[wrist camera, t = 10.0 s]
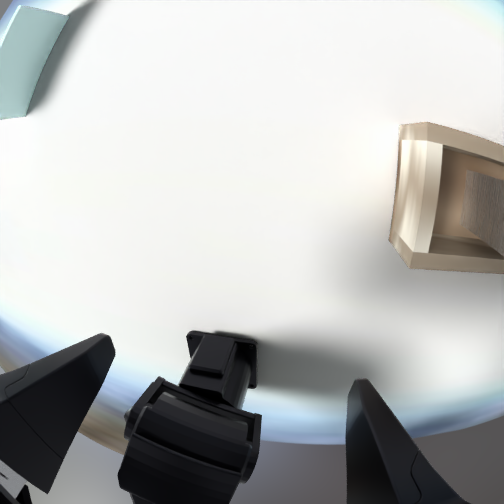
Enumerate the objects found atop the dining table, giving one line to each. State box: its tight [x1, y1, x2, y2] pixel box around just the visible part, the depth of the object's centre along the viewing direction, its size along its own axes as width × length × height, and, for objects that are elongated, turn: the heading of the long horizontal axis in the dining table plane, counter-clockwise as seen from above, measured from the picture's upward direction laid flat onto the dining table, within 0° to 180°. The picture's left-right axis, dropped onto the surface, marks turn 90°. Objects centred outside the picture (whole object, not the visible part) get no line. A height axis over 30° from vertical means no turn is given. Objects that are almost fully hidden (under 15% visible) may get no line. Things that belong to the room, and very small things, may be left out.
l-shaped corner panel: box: [0, 5, 70, 120], centre depth 12 cm, size 12×12×8 cm
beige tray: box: [389, 122, 504, 274], centre depth 12 cm, size 8×15×4 cm, turn 90°
